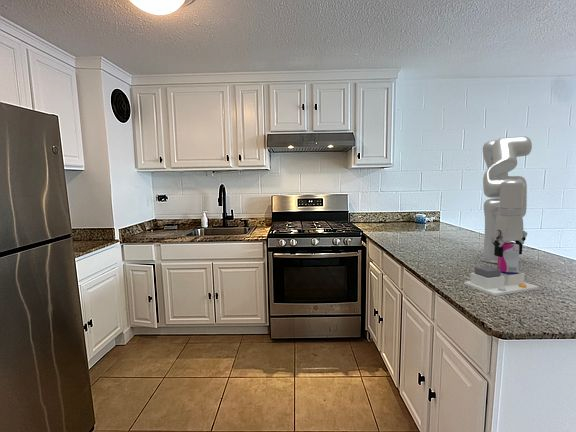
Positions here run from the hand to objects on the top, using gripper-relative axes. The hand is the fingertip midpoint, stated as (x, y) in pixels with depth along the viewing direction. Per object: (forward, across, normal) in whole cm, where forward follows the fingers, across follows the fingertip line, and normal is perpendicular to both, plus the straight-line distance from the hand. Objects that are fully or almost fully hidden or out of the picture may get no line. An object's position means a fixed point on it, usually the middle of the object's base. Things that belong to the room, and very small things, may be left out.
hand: (508, 254), depth 127 cm
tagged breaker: (+11, 0, 0) cm, 11 cm away
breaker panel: (+12, +5, +2) cm, 13 cm away
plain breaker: (+8, +10, 0) cm, 13 cm away
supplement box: (+7, 0, 0) cm, 7 cm away
